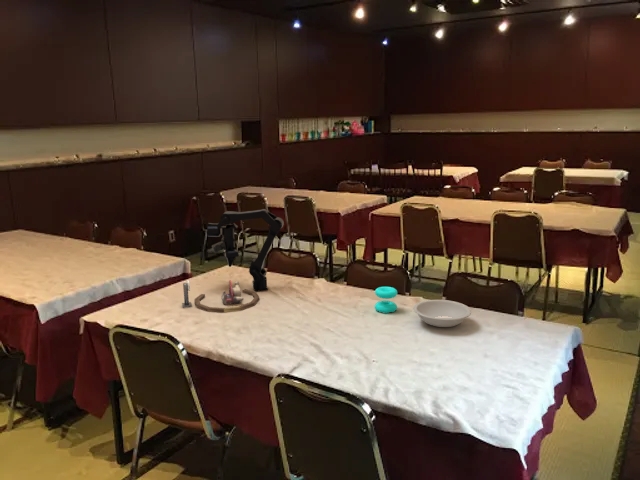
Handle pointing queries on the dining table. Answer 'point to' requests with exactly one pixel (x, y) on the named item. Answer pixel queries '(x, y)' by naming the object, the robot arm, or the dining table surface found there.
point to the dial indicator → (186, 295)
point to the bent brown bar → (228, 309)
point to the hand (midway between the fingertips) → (230, 266)
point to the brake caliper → (232, 295)
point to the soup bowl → (442, 312)
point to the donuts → (386, 294)
